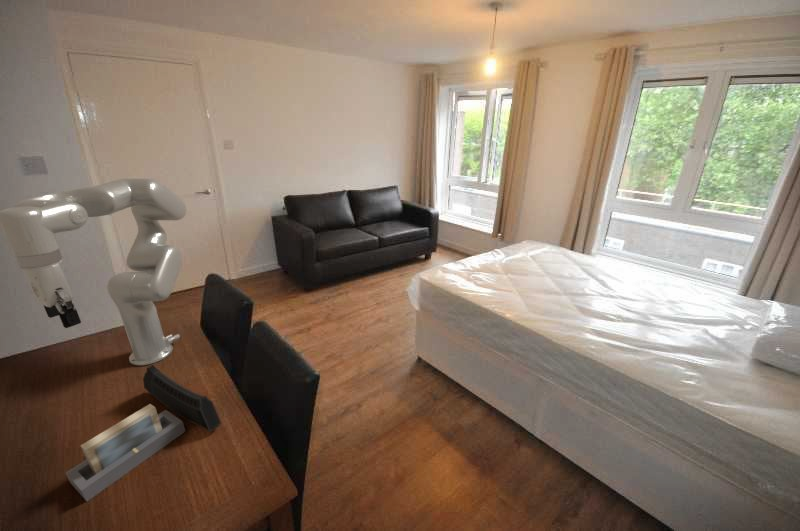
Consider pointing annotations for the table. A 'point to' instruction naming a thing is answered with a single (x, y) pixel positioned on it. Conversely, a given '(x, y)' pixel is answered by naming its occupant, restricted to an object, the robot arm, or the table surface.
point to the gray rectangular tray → (124, 459)
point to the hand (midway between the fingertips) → (64, 320)
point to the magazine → (181, 399)
